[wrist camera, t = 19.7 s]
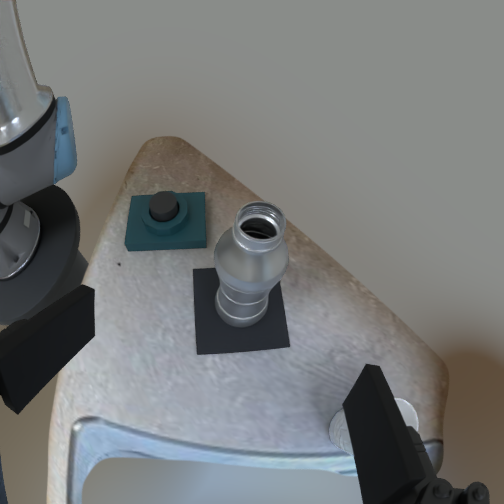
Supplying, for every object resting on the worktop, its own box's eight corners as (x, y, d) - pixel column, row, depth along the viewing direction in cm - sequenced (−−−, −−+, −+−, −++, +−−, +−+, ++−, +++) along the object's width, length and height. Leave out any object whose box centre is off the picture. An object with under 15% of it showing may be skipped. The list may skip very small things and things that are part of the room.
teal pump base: (128, 251, 40) (121, 237, 37) (134, 204, 44) (129, 188, 41) (206, 248, 42) (205, 233, 38) (205, 200, 46) (204, 184, 43)
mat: (197, 354, 34) (197, 354, 34) (193, 270, 40) (193, 268, 40) (289, 347, 36) (290, 346, 36) (276, 266, 42) (276, 264, 42)
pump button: (150, 222, 39) (147, 214, 37) (152, 200, 41) (150, 192, 39) (177, 221, 39) (175, 212, 38) (178, 199, 41) (177, 190, 40)
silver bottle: (271, 323, 37) (321, 247, 20) (222, 337, 35) (228, 271, 18) (255, 280, 40) (287, 180, 23) (208, 292, 38) (204, 194, 21)
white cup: (374, 397, 33) (417, 391, 25) (375, 448, 30) (418, 454, 21) (323, 404, 33) (358, 403, 24) (324, 458, 29) (358, 473, 20)
